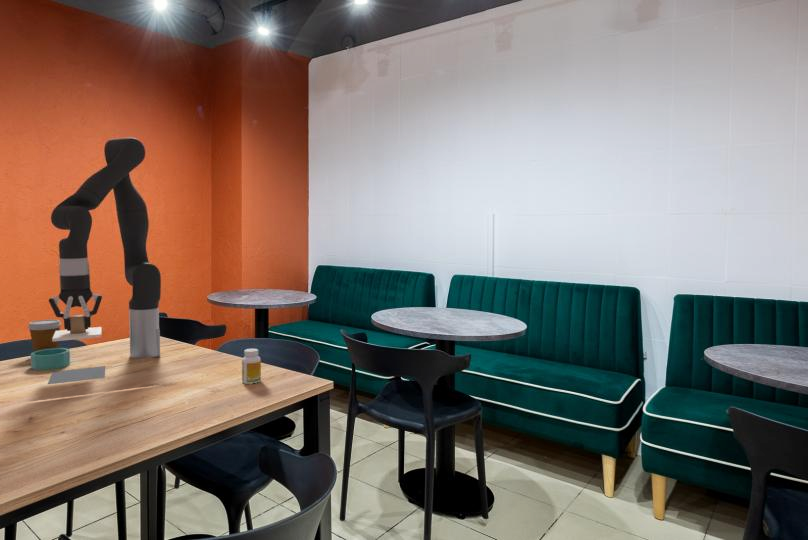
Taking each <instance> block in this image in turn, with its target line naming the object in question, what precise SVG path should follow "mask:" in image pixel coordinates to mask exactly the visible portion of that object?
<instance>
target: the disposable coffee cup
mask: <svg viewBox="0 0 808 540" xmlns="http://www.w3.org/2000/svg"><path fill="white" fill-rule="evenodd" d="M61 326H62V323H61V320H59V319H41V320H40V319H39V320H32V321H30V322H29V323H28V326H27V328H28V330H29V334H30V338H31V343H32V349H33V352H35V351H39V350H44V349H53V348H59V347H58V346H59V341H53V342H52V338H53V336H54V334H55V331H60V329H61Z"/></svg>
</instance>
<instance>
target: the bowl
mask: <svg viewBox="0 0 808 540" xmlns="http://www.w3.org/2000/svg"><path fill="white" fill-rule="evenodd" d="M70 351H71V349H70V348H65V347H58V348H53V349H44V350H39V351H35V352H34V351H33V352H31V353H30V366H31V370H34V371H51V370H58V369H62V368H65V367H68V366H70V364H71V352H70Z"/></svg>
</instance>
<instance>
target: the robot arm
mask: <svg viewBox="0 0 808 540" xmlns="http://www.w3.org/2000/svg"><path fill="white" fill-rule="evenodd" d="M106 141H107V140H106ZM103 149H104V150H103V151H104V153H103V154H104V159H105V162H106V165H105V166H104V167H102V168H101V169H99V170H98V171H96V172H95V173H93V174H91V176H89V177H88V178H87V179H86V180H85V181H84V182H83V183H82V184H81V185H80V187H79V188H78V189H77V190H76V191H75V192H74V193H73V194H72V195H69V196H68V197H67V198H65V199H64V200H63V201H61V202H60V203H59V204H57V205H56V206H55V207H54V209H53V210H52V212H51V215H50V221H51V224H52V225H53V226H54V227H55V228H56V229H59V230H63V231H65V230H66V231H69V233H68V235H67V237H65V238H62V239H60V240H59V241H58V254H59V261H58V263H59V265H58V274H59V286H60V287H59V288H60V291H59V294H58V295H57V296H54V297H50V298H48V302H49V305H50V307H51V309H52V311H53V313H54V315H55V316H56V317H57V318H61V319H63V325H64V326H63V327H64V330H67V331H70V319H69V317H70V312H71V308H75V307H77V308H78V307H79V308H81V309H82V310H83V312H84V315H85V329H88V328H91V325H92V322H91V317H92V316H95V315H97V313H98V312H99V311H98V310H99V308H100V304H101V303H102V300H103V295H102V294H95V293H93V292H92V290H91V276H90V275H91V274H90V264H89V258H88V241H89V238H90V234H91V230H92V227H93V218H92V214H91V212H90V211H94V210H96V209H97V208H98V207H99V206H100V205H101V204H102V202H103V201H104V200H105V199H106V198H107V196H108V195H109V193H110V192H111V191H112V190H113V196H114V201H115V202H114V203H115V208H116V216H117V222H118V227H119V228H118V229H119V233H120V239H121V243H122V249H123V259H124V277H125V281H126V282H127V284H129V285H130V286H131V287H132V290H131V291H132V294H131V296H132V297H130V299H129V301H128V317H129V320H128V322H129V325H128V326H129V353H130V354H129V357H130V358H132V359H149V358H152V359H153V358H156V357H161V330H160V312H159V311H160V310H159V309H160V307H159V304H160V301H161V296H162V295H161V293H162V291H161V290H162V277H161V271H160V269H159V268H158V267H157V265H155V264H153V263H150V261H149V257H148V253H147V252H148V251H147V240H148V234H149V233H148V232H149V229H150V228H149V226H150V224H149V223H150V221H149V214H148V208H147V204H146V202H145V200H144V198H143V197H142V196H141V194H140V192H138V190H137V189H136V187H135V186H134V184H133V182H132V180H131V175H130V173H131V172H132V171H133V170H134V169H136V168H137V167H138V166H140V165H141V164H142V162H143V161H144V160H145V157H146V149H145V145H144V144H143V143H142V142H141V140H139V139H138V138H135V137H122V138H121V137H120V138H119V137H118V138H113V139H108V141H107V142H105V144H104V148H103ZM91 299H92V300H93V302H94V305H93V309H92V310H90V309H89V306H88V302H90V300H91ZM59 300H61V301H62V302H63V304H64V305H65V309H64V312H61V309H60V308H59V305H58V304H59V303H60V302H59Z"/></svg>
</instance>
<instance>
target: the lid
mask: <svg viewBox="0 0 808 540" xmlns="http://www.w3.org/2000/svg"><path fill="white" fill-rule="evenodd" d="M69 319H70V331H67V329H61V330H60V331H55V334H54V336H53V338H52V342H53V341H58V342H60V341H61V342H62V341H64V342H65V341H72V340H83V339H84V340H85V339H91V338H92V339H94V338H101V337H102V334H103V333H102V326H96V327H94V326H93V327H88V329H85V314H77V315H69Z"/></svg>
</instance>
